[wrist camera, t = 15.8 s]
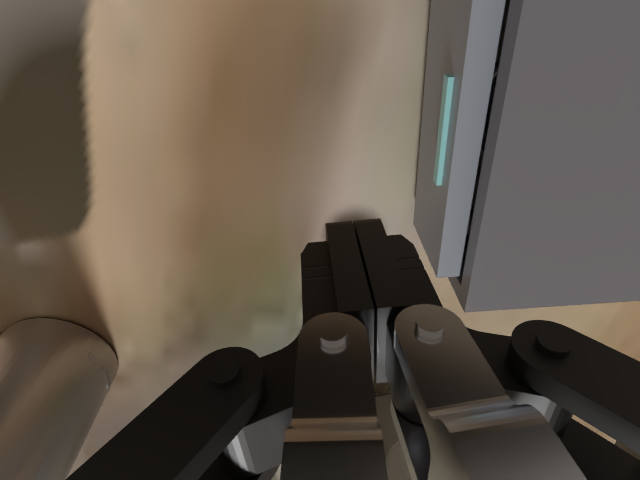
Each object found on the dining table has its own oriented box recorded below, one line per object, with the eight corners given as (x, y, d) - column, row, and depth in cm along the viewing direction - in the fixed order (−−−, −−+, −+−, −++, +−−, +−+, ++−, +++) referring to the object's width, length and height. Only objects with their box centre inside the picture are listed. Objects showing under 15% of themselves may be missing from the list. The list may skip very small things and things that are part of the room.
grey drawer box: (409, 223, 26) (432, 278, 21) (430, -64, 18) (474, -78, 13) (610, 210, 26) (676, 261, 21) (725, -87, 18) (877, -108, 13)
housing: (426, 231, 28) (464, 312, 21) (460, -106, 18) (552, -154, 11) (613, 218, 28) (710, 295, 21) (752, -129, 18) (1021, -191, 11)
